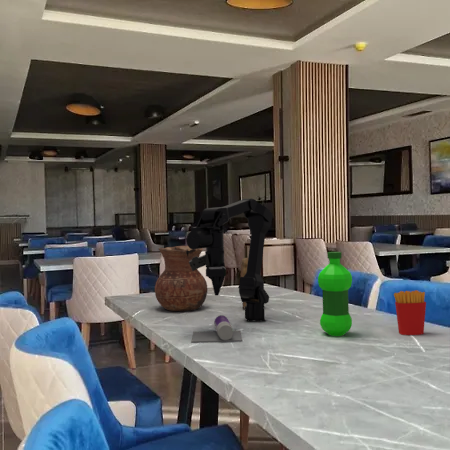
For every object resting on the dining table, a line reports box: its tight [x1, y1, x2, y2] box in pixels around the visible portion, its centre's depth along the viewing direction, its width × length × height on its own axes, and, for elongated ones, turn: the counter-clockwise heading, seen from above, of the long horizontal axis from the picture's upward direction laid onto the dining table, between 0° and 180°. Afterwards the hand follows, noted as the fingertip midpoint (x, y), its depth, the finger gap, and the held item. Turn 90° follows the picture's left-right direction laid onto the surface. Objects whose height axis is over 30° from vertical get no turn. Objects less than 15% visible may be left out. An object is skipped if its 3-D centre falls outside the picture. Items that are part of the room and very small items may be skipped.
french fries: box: [393, 289, 427, 336], centre depth 159 cm, size 9×4×13 cm, turn 92°
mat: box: [190, 329, 243, 344], centre depth 161 cm, size 15×13×1 cm
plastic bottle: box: [317, 251, 353, 337], centre depth 160 cm, size 10×10×25 cm
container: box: [213, 315, 234, 340], centre depth 161 cm, size 5×5×15 cm
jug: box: [154, 245, 209, 312], centre depth 212 cm, size 22×21×25 cm
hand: (216, 295), depth 170 cm, fingers closed
